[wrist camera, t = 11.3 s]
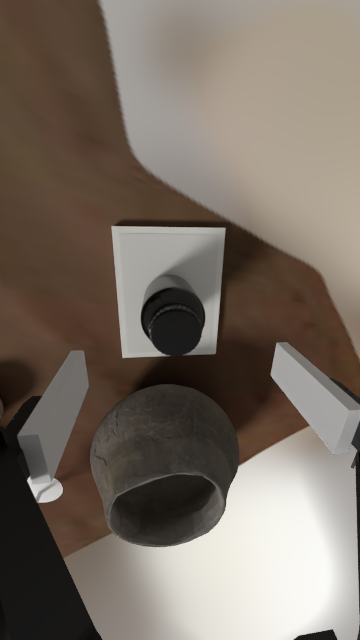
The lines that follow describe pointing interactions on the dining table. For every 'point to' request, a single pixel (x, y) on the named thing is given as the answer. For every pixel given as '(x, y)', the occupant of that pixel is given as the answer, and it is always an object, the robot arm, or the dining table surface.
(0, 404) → the ceramic mug
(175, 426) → the clay pot
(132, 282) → the stone board
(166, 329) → the supplement bottle
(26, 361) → the dining table surface
